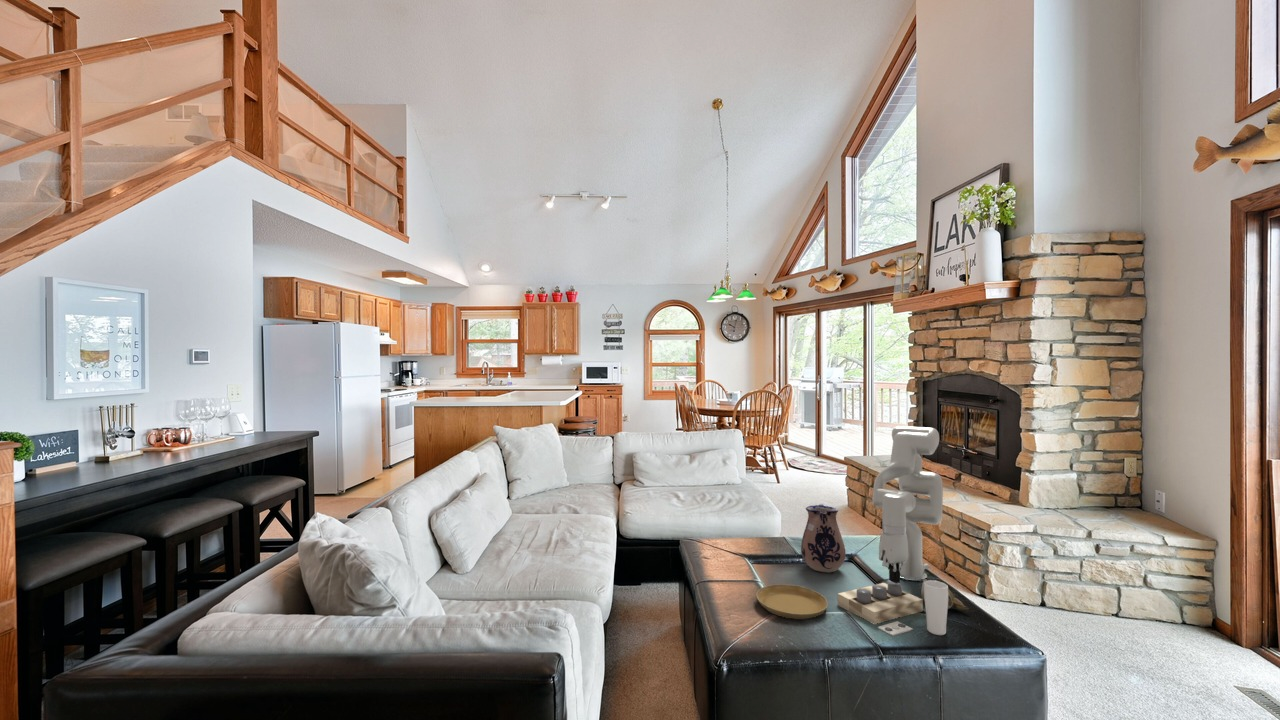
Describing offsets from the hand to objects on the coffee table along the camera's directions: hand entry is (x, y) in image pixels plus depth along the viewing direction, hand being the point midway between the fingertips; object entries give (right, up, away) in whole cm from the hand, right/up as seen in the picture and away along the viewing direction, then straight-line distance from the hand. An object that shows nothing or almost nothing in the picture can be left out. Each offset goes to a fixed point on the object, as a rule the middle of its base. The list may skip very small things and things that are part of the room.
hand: (894, 581), depth 190 cm
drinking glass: (+4, -8, -20) cm, 22 cm away
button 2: (0, -6, 0) cm, 6 cm away
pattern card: (-8, -8, -18) cm, 21 cm away
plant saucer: (-37, -9, -2) cm, 38 cm away
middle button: (-7, -6, -3) cm, 9 cm away
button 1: (-13, -6, -6) cm, 16 cm away
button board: (-7, -8, -3) cm, 11 cm away
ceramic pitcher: (-13, -9, +36) cm, 39 cm away
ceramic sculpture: (+15, -8, -2) cm, 17 cm away
